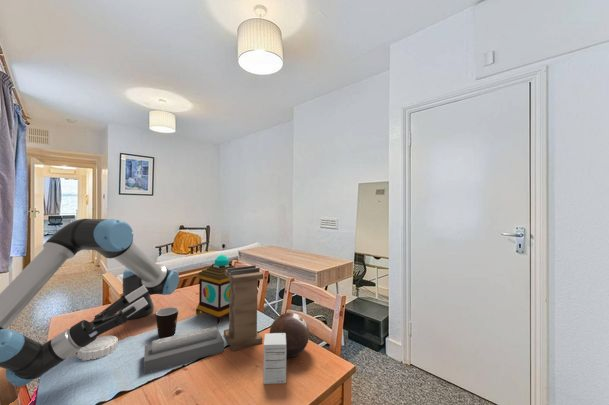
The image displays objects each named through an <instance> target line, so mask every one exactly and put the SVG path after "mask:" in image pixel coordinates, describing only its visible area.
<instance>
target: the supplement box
mask: <svg viewBox="0 0 609 405" xmlns="http://www.w3.org/2000/svg"><path fill="white" fill-rule="evenodd" d="M262 367H263V380H262V382H263V384H264V385H271V384H272V385H273V384H286V383H287V357H286V333H270V332H269V333H264V338H263V366H262Z"/></svg>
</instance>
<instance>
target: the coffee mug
mask: <svg viewBox="0 0 609 405" xmlns="http://www.w3.org/2000/svg"><path fill="white" fill-rule="evenodd" d="M178 316H179V308H178V307H174V306H171V307H170V306H168V307H164V308H163V307H162V308H160V309H158V310H157V311H156V312H155V318H156V320H155V321H156V327H157V336H158V338H159V339H163V338H167V337H171V336H175V335H174V334H176V330H177V323H178Z"/></svg>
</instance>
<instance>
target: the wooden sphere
mask: <svg viewBox="0 0 609 405" xmlns="http://www.w3.org/2000/svg"><path fill="white" fill-rule="evenodd" d="M269 333H286V358H292V357H296V356H298V355H299V354H301V353H302V352H303V351H304V350H305V348H306V347H307V346H308V342H309V340H310V330H309V326H308V323H307V322H306V320H305V319H304V318H303V317H302V316H301V315H300V314H297V313H295V312H284V313H282V314H280V315H279V316H277V317H276V318H275V319H274V320H273V322H272V323H271V325H270V330H269Z"/></svg>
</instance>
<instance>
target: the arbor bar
mask: <svg viewBox="0 0 609 405" xmlns="http://www.w3.org/2000/svg"><path fill="white" fill-rule="evenodd" d="M217 329H218V328H217V326H211V327H207V328H202V329H199V330H194V331H190V332H186V333H185V332H184V333H180V334H177V335H173V336H171V337H167V338H163V339H162V338H159V339H154V340H151V344H152V353H156V352H160V351H164V350H168V349H172V348H176V347H180V346H184V345H188V344H192V343H196V342H200V341H204V340H208V339H212V338H216V337H217Z"/></svg>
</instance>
